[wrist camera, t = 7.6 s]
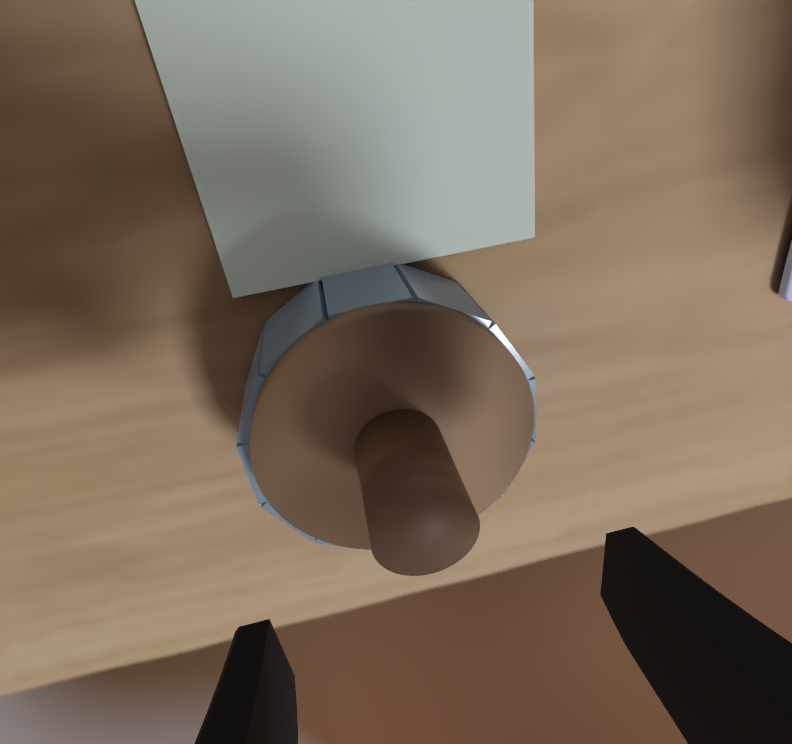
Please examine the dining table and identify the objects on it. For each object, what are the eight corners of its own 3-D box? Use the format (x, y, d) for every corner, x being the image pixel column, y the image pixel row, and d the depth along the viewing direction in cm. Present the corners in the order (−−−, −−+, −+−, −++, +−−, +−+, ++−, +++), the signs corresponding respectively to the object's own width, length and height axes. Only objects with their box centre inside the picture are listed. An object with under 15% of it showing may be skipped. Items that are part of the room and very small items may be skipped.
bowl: (491, 239, 17) (535, 271, 14) (501, 453, 21) (536, 512, 18) (213, 295, 16) (195, 342, 13) (287, 504, 21) (286, 575, 18)
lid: (519, 272, 14) (605, 338, 10) (527, 496, 18) (589, 602, 14) (209, 339, 13) (177, 437, 9) (293, 556, 17) (294, 683, 13)
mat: (527, -183, 12) (532, -189, 12) (531, 235, 17) (534, 237, 17) (95, -128, 11) (90, -134, 11) (233, 295, 16) (233, 298, 16)
